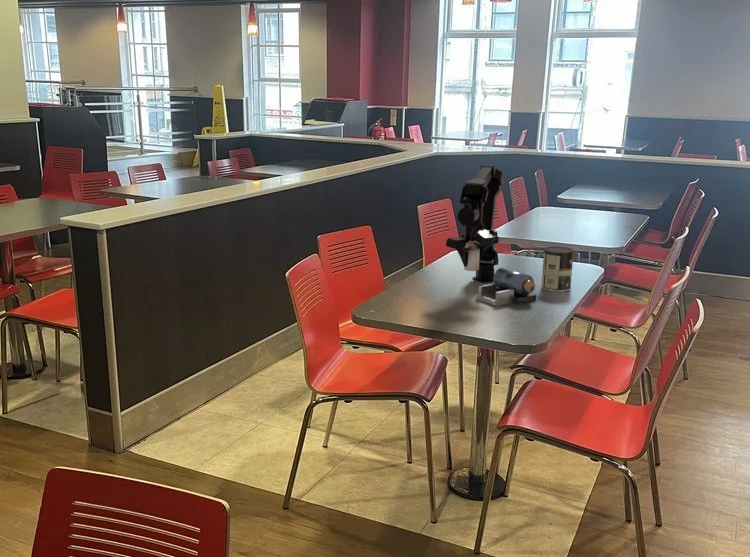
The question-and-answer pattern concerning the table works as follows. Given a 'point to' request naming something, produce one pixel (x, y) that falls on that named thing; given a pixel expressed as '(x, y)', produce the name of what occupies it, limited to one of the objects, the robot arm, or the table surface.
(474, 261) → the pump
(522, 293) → the motor
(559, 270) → the coffee can
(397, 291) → the table surface
